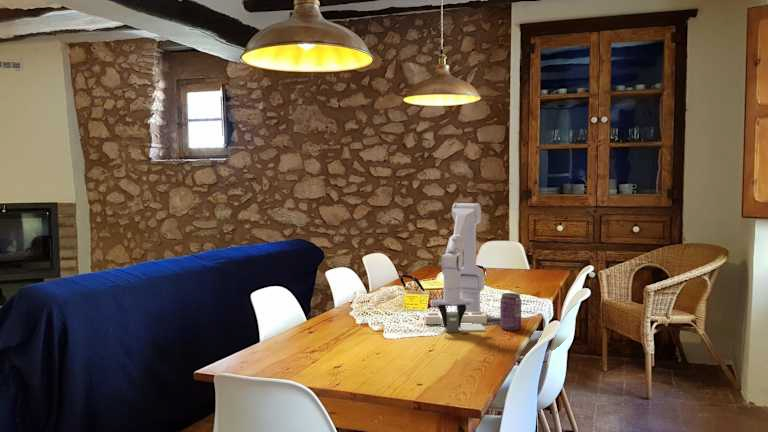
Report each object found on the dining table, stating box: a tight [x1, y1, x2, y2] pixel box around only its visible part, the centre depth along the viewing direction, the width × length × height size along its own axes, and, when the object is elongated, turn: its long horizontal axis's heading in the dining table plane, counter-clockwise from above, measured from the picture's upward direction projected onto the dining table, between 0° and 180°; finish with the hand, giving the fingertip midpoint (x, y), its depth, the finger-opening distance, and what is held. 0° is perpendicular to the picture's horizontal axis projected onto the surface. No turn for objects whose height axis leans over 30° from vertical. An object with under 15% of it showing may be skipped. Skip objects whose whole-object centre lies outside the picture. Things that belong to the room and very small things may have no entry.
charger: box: [444, 311, 460, 333], centre depth 210 cm, size 8×4×6 cm, turn 2°
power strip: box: [423, 311, 500, 325], centre depth 220 cm, size 8×28×4 cm, turn 93°
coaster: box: [459, 324, 486, 333], centre depth 213 cm, size 8×8×1 cm
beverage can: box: [499, 292, 522, 331], centre depth 212 cm, size 7×7×12 cm
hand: (451, 326), depth 209 cm, fingers closed on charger, 4 cm apart
